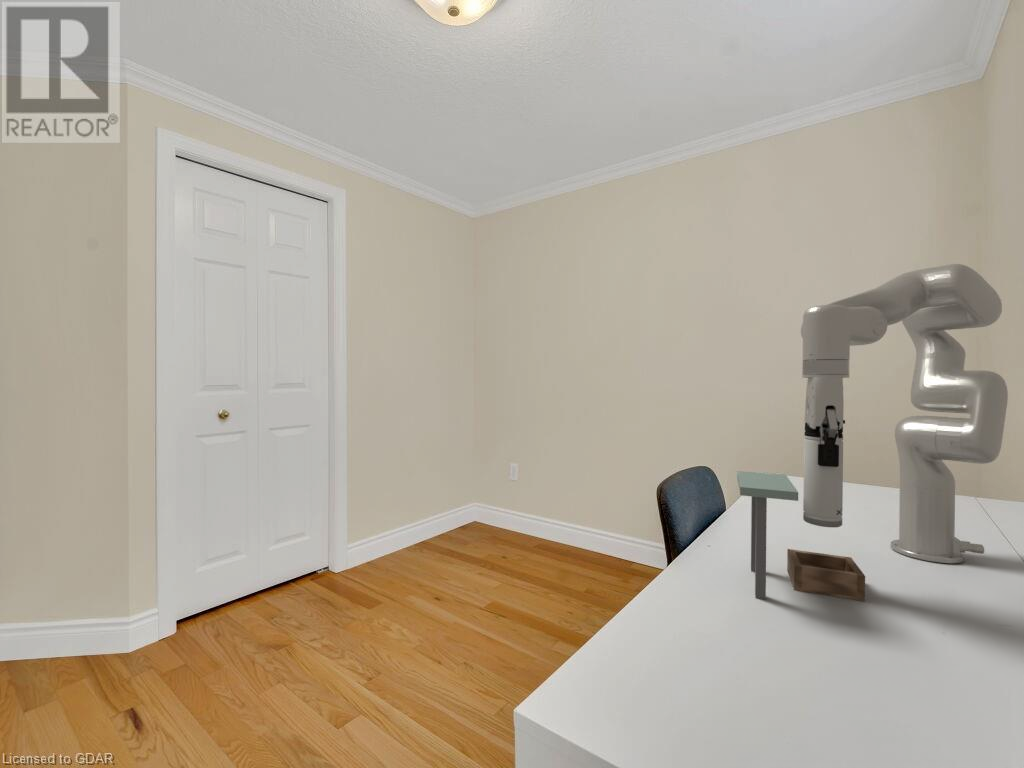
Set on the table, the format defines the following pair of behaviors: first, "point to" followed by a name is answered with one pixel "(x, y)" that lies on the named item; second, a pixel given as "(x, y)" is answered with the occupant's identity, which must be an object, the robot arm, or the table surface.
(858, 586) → the brown wooden tray
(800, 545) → the table surface
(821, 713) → the table surface
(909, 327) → the robot arm
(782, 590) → the table surface
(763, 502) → the panel
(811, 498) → the travel mug
